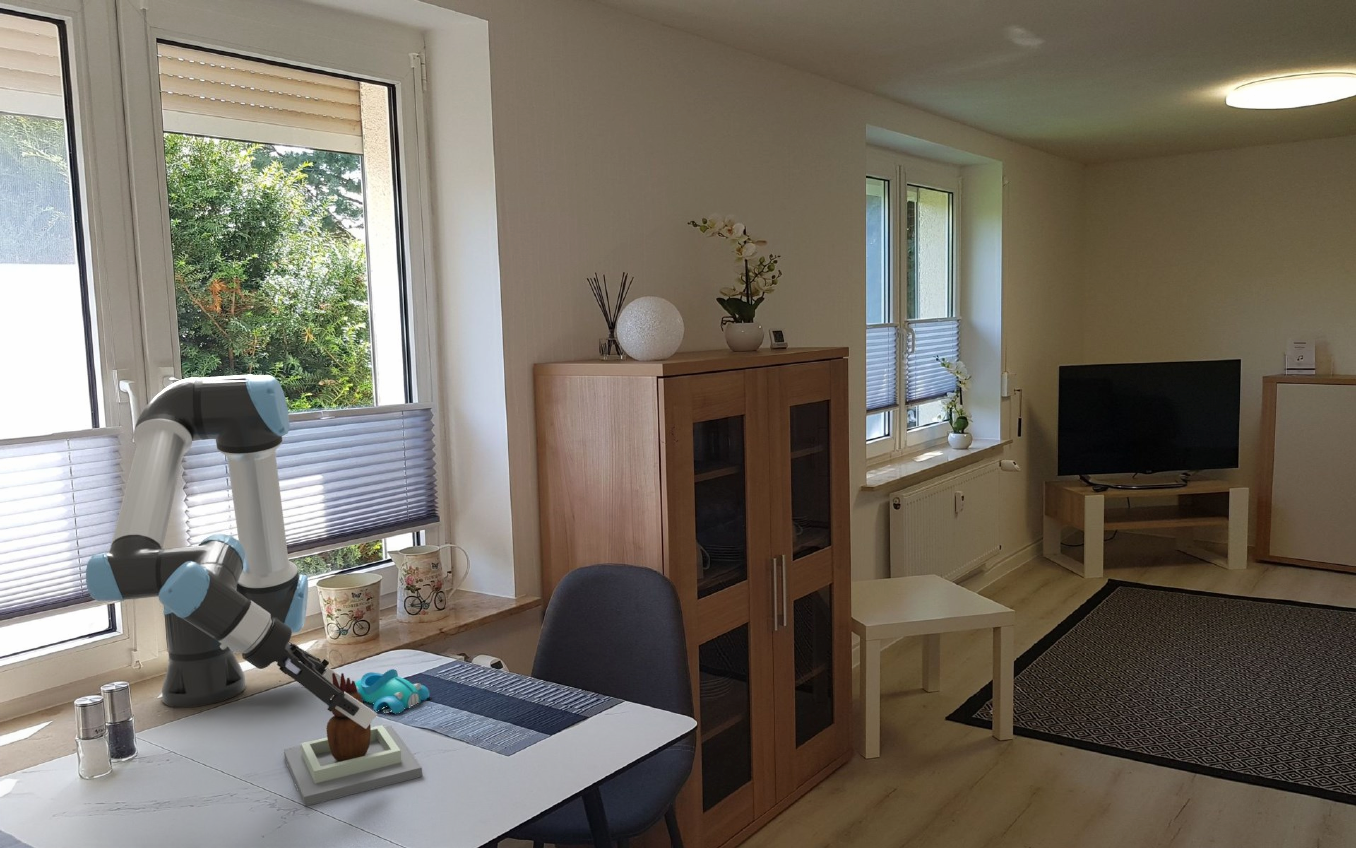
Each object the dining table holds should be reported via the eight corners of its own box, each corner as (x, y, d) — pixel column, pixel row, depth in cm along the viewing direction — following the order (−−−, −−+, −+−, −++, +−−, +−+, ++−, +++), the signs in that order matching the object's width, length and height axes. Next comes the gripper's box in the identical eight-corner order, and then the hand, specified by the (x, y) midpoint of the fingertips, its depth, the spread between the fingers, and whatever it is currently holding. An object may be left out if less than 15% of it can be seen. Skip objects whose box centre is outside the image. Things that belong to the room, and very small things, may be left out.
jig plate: (284, 758, 170) (282, 738, 170) (391, 733, 179) (390, 714, 179) (304, 806, 153) (302, 784, 153) (422, 776, 162) (421, 755, 161)
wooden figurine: (330, 769, 162) (323, 679, 160) (327, 755, 167) (320, 668, 166) (374, 760, 165) (367, 671, 163) (370, 747, 170) (363, 661, 168)
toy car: (394, 718, 187) (392, 683, 186) (326, 703, 196) (324, 670, 195) (435, 698, 196) (433, 665, 196) (368, 685, 205) (366, 653, 204)
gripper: (230, 635, 167) (331, 702, 176) (249, 679, 145) (363, 754, 154) (262, 598, 169) (360, 667, 178) (285, 637, 147) (395, 712, 156)
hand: (362, 707), depth 166 cm, fingers open, 13 cm apart
